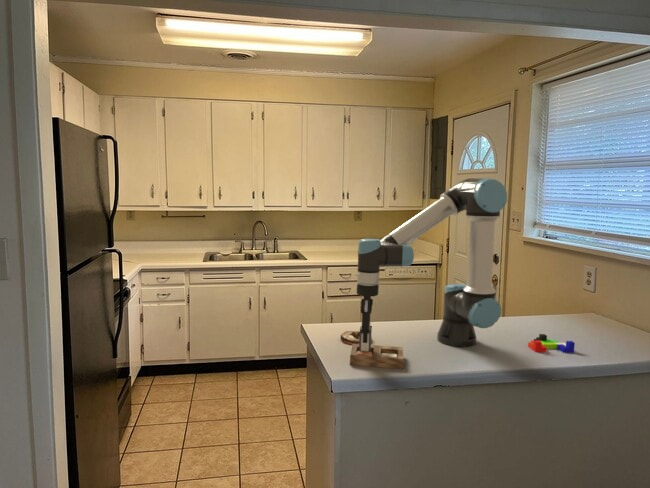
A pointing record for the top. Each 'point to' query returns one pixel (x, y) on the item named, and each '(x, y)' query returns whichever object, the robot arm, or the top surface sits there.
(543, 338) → the building blocks
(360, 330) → the plug
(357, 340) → the bagel
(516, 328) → the top surface
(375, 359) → the socket board
